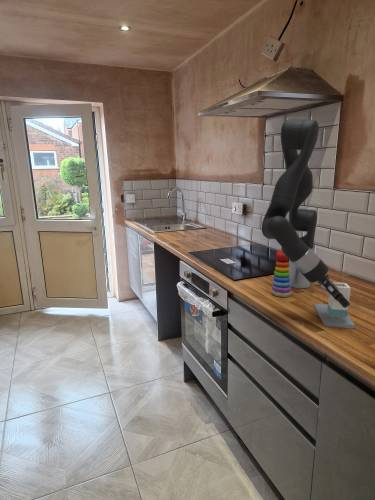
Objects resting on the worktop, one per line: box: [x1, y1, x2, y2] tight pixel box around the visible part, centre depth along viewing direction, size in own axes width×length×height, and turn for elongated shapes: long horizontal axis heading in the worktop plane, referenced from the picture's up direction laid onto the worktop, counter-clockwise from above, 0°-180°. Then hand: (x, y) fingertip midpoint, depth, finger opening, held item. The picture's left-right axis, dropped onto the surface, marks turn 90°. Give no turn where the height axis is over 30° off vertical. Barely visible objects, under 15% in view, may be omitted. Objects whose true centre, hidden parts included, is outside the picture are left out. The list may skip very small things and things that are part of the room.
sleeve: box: [327, 281, 352, 318], centre depth 105 cm, size 5×5×10 cm
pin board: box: [313, 303, 356, 329], centre depth 110 cm, size 16×9×6 cm, turn 171°
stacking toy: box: [270, 248, 292, 298], centre depth 129 cm, size 8×8×19 cm
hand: (344, 302), depth 105 cm, fingers closed on sleeve, 4 cm apart
